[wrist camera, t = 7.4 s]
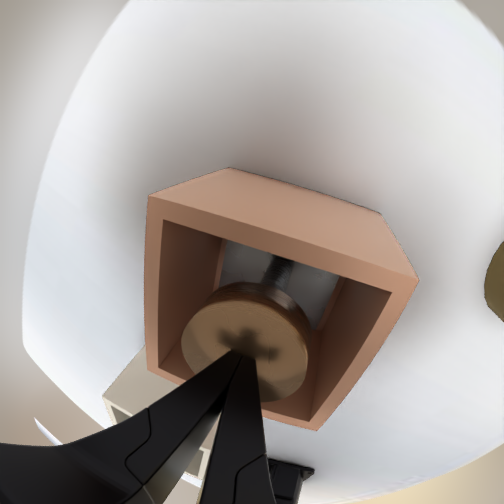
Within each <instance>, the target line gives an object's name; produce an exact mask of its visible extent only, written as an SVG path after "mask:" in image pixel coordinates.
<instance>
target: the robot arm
mask: <svg viewBox="0 0 504 504" xmlns="http://www.w3.org/2000/svg"><path fill="white" fill-rule="evenodd" d="M220 413H221V414H220ZM219 415H220V418H219V421H218V425H217V429H216V433H215V436H214V440H213V444H212V448H211V451H210V455H209V459H208V463H207V466H206V470H205V474H204V477H203V481H202V485H201V488H200V492H199V496H198V499H197V503H196V504H298V500H299V495H300V491H301V487H302V482H303V481H304V480H306V479H307V478H309V477H310V476H311V475H313V474H314V471H315V470H313V469H309V468H304V467H299V466H294V465H289V464H285V463H281V462H277V461H273V460H269V459H267V455H266V444H265V436H264V427H263V418H262V410H261V401H260V392H259V383H258V374H257V365H256V360H255V359H254V358H251V357H249V356H246V355H243V356H242V355H241V354H240V353H237V352H234V351H228V352H227V353H225V354H224V355H222V356H221V357H220V358H218V359H217V360H216V361H214V362H213V363H211V364H210V365H209V366H207V367H206V368H204V369H203V370H201V371H200V372H199V373H197V374H196V375H194V376H193V377H191V378H190V379H188V380H187V381H186V382H184V383H183V384H181V385H180V386H178V387H177V388H175V389H174V390H172V391H171V392H169V393H168V394H166V395H165V396H163V397H162V398H160V399H159V400H157V401H155V402H154V403H152V404H151V405H149V406H148V408H147V407H146V408H144V409H143V410H141V411H140V412H138V413H136V414H135V415H133V416H131V417H129V418H128V419H126V420H124V421H122V422H120V423H118V424H116V425H114V426H111V427H109V428H107V429H105V430H102V431H100V432H97V433H95V434H92V435H90V436H87V437H84V438H82V439H79V440H76V441H74V442H71V443H68V444H63V445H58V446H31V445H16V444H6V443H0V504H163V502H164V501H165V500H166V498H167V497H168V495H169V494H170V492H171V491H172V489H173V488H174V487H175V485H176V484H177V482H178V481H179V479H180V478H181V476H182V475H183V473H184V472H185V470H186V469H187V467H188V465H189V464H190V462H191V461H192V459H193V458H194V456H195V455H196V453H197V451H198V450H199V448H200V447H201V445H202V444H203V442H204V440H205V439H206V437H207V435H208V434H209V432H210V431H211V429H212V427H213V426H214V424H215V422H216V421H217V419H218V417H219Z"/></svg>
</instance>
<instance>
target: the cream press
mask: <svg viewBox="0 0 504 504" xmlns="http://www.w3.org/2000/svg"><path fill="white" fill-rule="evenodd" d="M178 386H180V385H177V384H175V383H173V382H171V381H169V380H166V379H164V378H162V377H160V376H158V375H156V374H154V373H152V372H150V371H148V370H147V361H146V345H144V346H143V348H142V349H141V350H140V351H139V352H138V353H137V355H136V356H135V357H134V358H133V359H132V361H131V362H130V363H129V364H128V365H127V366H126V368H125V369H124V370H123V371H122V372H121V374H120V375H119V376H118V377H117V378H116V380H115V381H114V382H113V383H112V384H111V386H110V387H109V388H108V389H107V390H106V392H105V393H104V394H103V395H102V398H103V400H104V403H105V406H106V409H107V411H108V414H109V416H110V419H111V421H112V424H113V426H114V425H116V424H118V423H120V422H122V421H124V420H126V419H128V418H129V417H131V416H133V415H135V414H136V413H138V412H140V411H141V410H143V409H144V408H146V407H147V408H148V406H149V405H151V404H152V403H154V402H155V401H157V400H159V399H160V398H162V397H163V396H165V395H166V394H168V393H169V392H171V391H172V390H174V389H175V388H177V387H178ZM220 414H221V413H220ZM219 418H220V415H219V417H218V419H217V421H216V422H215V424H214V426H213V427H212V429H211V431H210V432H209V434H208V435H207V437H206V439H205V440H204V442H203V444H202V445H201V447H200V448H199V450H198V451H197V453H196V455H195V456H194V458H193V459H192V461H191V462H190V464H189V465H188V467H187V469H186V470H185V472H184V473H185V474H188V475H190V476H192V477H195V478H198V479H200V480H203V477H204V474H205V470H206V466H207V463H208V459H209V455H210V451H211V448H212V444H213V440H214V436H215V433H216V429H217V425H218V421H219Z"/></svg>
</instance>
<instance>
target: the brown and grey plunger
mask: <svg viewBox="0 0 504 504" xmlns="http://www.w3.org/2000/svg"><path fill="white" fill-rule="evenodd" d="M339 276H340V275H337V274H334V273H331V272H328V271H325V270H322V269H319V268H315V267H312V266H309V265H306V264H303V263H300V262H297V261H294V260H290V259H287V258H284V257H281V256H278V255H275V254H272V253H269V252H265V251H262V250H259V249H256V248H253V247H250V246H247V245H243V244H240V243H237V242H234V241H231V240H227V245H226V250H225V255H224V260H223V266H222V271H221V276H220V282H219V287H218V289H216V290H215V291H214V292H213V293H211V294H210V296H209V297H208V298H207V299H206V300H205V302H204V303H203V304H202V306H201V307H200V308H199V310H198V311H197V312H196V314H195V315H194V316H193V318H192V319H191V320H190V321H189V323H188V324H187V326H186V327H185V329H184V331H183V334H182V339H181V347H182V352H183V355H184V358H185V360H186V362H187V364H188V365H189V367H190V368H191V370H192V371H193V372H194V373H195V374H197V373H199V372H200V371H201V370H203V369H204V368H206V367H207V366H209V365H210V364H211V363H213V362H214V361H216V360H217V359H218V358H220V357H221V356H222V355H224V354H225V353H227V352H228V351H234V352H237V353H240V354H241V355H242V356H243V355H246V356H249V357H251V358H254V359H255V360H256V365H257V374H258V383H259V392H260V401H261V403H262V402H273V401H277V400H280V399H283V398H286V397H288V396H289V395H291V394H293V393H294V392H295V391H296V390H297V389H298V388H299V387H300V386H301V384H302V383H303V381H304V379H305V375H306V370H307V364H308V358H309V352H310V346H311V339H312V331H311V329H312V330H315V331H316V328H317V326H318V324H319V322H320V320H321V318H322V315H323V313H324V311H325V309H326V307H327V304H328V302H329V300H330V297H331V295H332V293H333V290H334V288H335V286H336V283H337V281H338V278H339Z"/></svg>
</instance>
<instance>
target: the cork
mask: <svg viewBox="0 0 504 504" xmlns="http://www.w3.org/2000/svg"><path fill="white" fill-rule="evenodd" d="M484 290H485V299H486V302H487V305H488V307H489V308H490V309H491V310H492V311H493V312H494V313H495V314H496V315H497V316H498V317H499V318H500V319H501V320H502V321H503V322H504V242H503V243H502V244H501V245H500V247H499V248H498V250H497V251H496V253H495V254H494V256H493V258H492V261H491V263H490V265H489V268H488V270H487V274H486V279H485V284H484Z"/></svg>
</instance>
